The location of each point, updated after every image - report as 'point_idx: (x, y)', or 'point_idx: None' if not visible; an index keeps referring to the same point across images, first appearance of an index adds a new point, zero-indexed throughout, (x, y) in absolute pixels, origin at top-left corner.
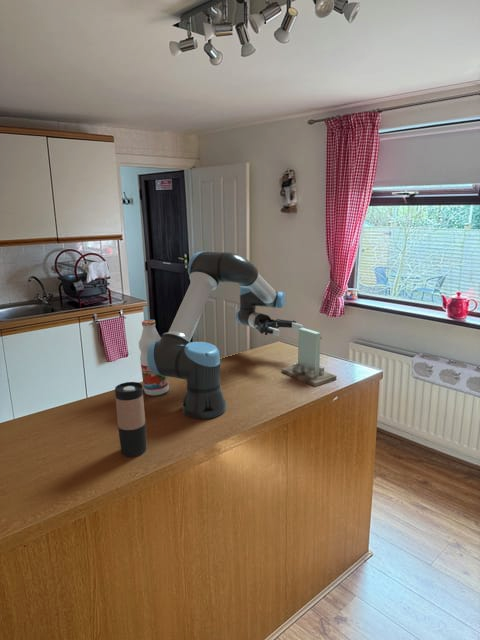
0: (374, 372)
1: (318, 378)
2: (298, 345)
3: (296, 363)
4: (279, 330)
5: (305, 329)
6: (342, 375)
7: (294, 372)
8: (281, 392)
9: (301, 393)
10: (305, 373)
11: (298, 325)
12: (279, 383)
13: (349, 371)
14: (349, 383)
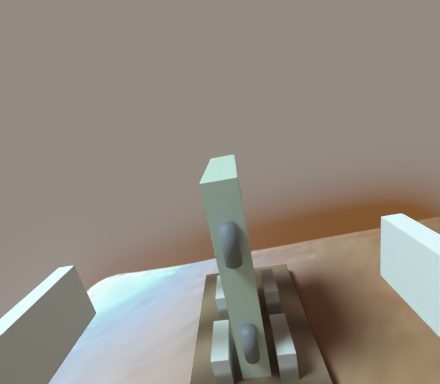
0: (109, 279)
1: (258, 280)
2: (253, 271)
3: (278, 347)
4: (381, 220)
5: (218, 171)
6: (172, 294)
7: (305, 353)
8: None
9: (343, 259)
10: (279, 303)
11: (37, 314)
12: (404, 332)
13: (131, 306)
14: (205, 261)
